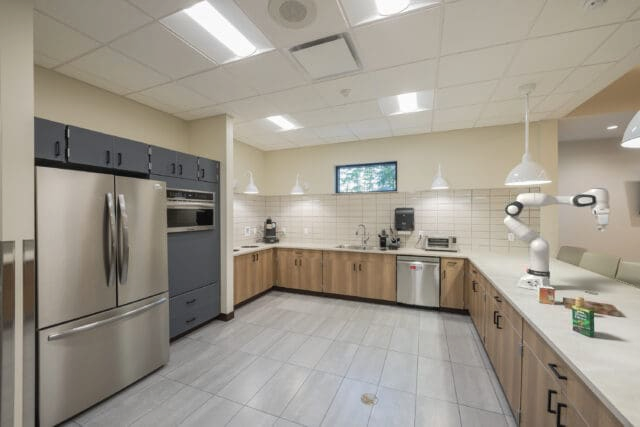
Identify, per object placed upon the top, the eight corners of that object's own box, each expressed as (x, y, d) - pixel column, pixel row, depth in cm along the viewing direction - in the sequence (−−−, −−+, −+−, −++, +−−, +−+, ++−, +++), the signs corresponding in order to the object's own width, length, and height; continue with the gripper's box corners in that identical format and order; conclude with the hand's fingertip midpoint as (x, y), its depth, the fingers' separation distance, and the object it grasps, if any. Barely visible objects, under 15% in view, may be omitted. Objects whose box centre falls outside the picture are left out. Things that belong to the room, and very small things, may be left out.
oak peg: (575, 315, 146) (575, 298, 146) (574, 313, 149) (574, 296, 149) (585, 316, 144) (585, 299, 144) (583, 314, 147) (583, 297, 147)
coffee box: (571, 329, 129) (571, 304, 129) (576, 329, 129) (576, 304, 129) (589, 337, 121) (589, 310, 121) (594, 337, 121) (595, 310, 121)
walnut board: (565, 308, 157) (565, 302, 157) (562, 302, 166) (562, 297, 166) (618, 317, 143) (619, 311, 143) (612, 310, 153) (612, 304, 153)
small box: (539, 303, 166) (539, 287, 166) (536, 300, 171) (536, 284, 171) (555, 305, 162) (555, 288, 162) (551, 302, 167) (551, 286, 167)
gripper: (591, 210, 185) (592, 229, 185) (596, 211, 169) (597, 232, 169) (604, 210, 181) (605, 229, 181) (610, 211, 165) (612, 232, 165)
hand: (601, 230), depth 175 cm, fingers open, 8 cm apart
